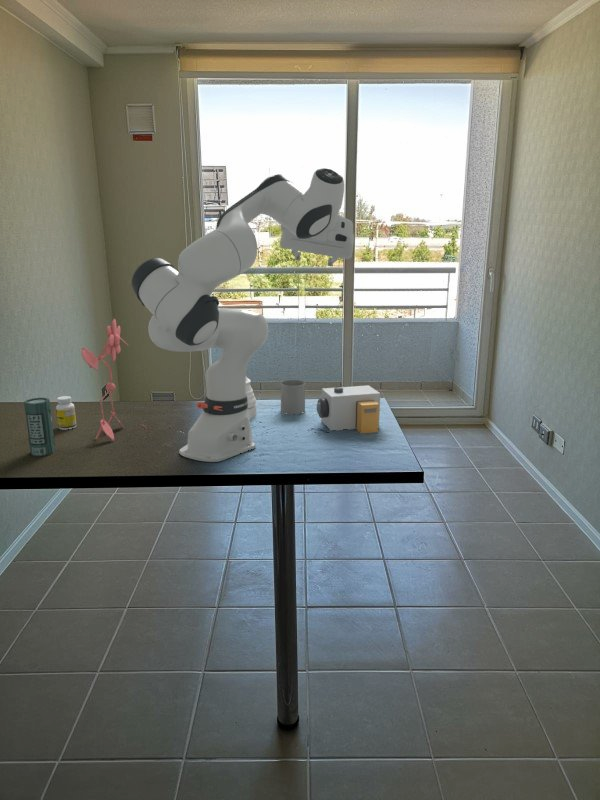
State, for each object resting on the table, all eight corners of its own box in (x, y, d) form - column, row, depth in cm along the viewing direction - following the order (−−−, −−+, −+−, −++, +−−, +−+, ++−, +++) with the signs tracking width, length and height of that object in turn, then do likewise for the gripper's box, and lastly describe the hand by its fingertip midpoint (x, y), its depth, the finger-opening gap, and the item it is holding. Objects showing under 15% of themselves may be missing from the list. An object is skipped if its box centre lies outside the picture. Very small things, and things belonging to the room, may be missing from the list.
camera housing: (379, 426, 188) (380, 390, 184) (322, 431, 183) (323, 394, 180) (367, 417, 197) (368, 382, 194) (313, 421, 193) (313, 386, 189)
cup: (305, 414, 200) (305, 386, 197) (280, 414, 200) (280, 386, 197) (304, 407, 208) (304, 379, 205) (281, 407, 208) (280, 379, 205)
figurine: (82, 449, 168) (72, 325, 159) (111, 421, 193) (104, 313, 183) (136, 450, 168) (129, 327, 158) (158, 422, 193) (154, 314, 183)
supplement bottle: (55, 427, 187) (51, 397, 184) (72, 423, 190) (69, 394, 188) (62, 431, 183) (59, 400, 180) (79, 427, 187) (76, 397, 184)
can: (58, 448, 169) (52, 397, 165) (49, 456, 163) (42, 403, 159) (37, 448, 169) (30, 397, 165) (27, 456, 163) (20, 403, 159)
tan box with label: (378, 432, 183) (379, 404, 180) (361, 434, 181) (362, 405, 179) (373, 428, 187) (374, 400, 184) (356, 429, 185) (357, 401, 183)
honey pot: (214, 411, 204) (212, 359, 199) (250, 407, 208) (249, 357, 203) (223, 422, 192) (221, 368, 187) (261, 418, 196) (260, 364, 192)
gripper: (279, 225, 155) (276, 263, 167) (357, 239, 156) (347, 275, 168) (283, 209, 159) (279, 247, 170) (358, 222, 159) (349, 259, 171)
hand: (313, 261), depth 169 cm, fingers open, 8 cm apart
